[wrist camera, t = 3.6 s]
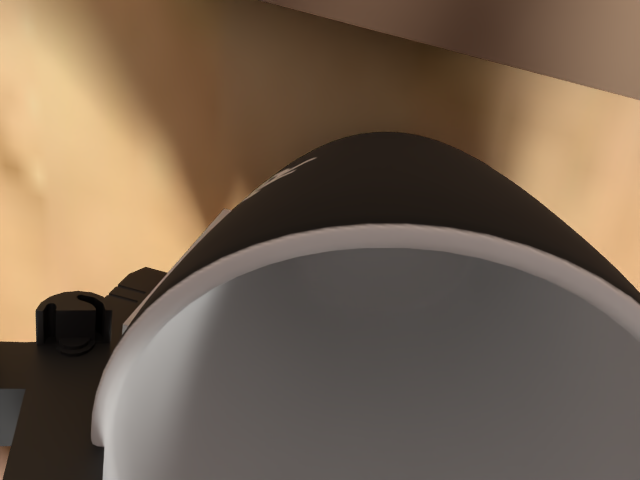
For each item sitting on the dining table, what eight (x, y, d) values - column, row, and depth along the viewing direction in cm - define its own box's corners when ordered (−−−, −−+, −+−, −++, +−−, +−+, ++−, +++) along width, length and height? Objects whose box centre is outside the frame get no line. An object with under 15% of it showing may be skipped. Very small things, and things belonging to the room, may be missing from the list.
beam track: (146, 414, 21) (96, 496, 17) (200, -103, 13) (129, -156, 9) (812, 591, 21) (906, 711, 17) (1293, 183, 13) (1664, 246, 9)
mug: (328, 38, 14) (225, 58, 5) (582, 187, 15) (925, 458, 5) (182, 330, 19) (-9, 624, 9) (379, 428, 20) (380, 785, 10)
